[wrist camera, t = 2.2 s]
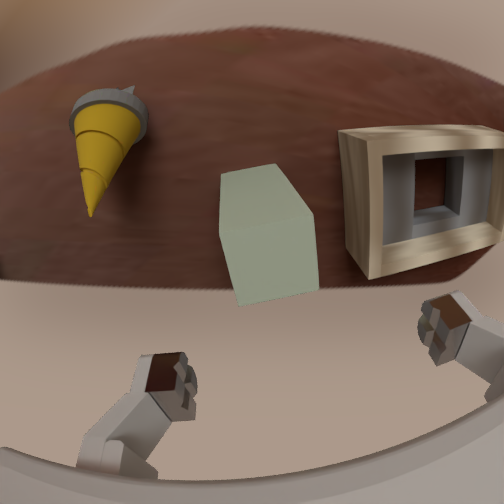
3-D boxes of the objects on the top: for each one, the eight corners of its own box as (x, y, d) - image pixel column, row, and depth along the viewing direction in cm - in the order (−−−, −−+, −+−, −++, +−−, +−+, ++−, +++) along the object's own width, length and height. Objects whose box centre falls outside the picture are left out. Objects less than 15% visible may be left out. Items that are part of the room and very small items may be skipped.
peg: (232, 223, 23) (238, 306, 14) (221, 174, 21) (219, 233, 12) (283, 213, 23) (319, 290, 14) (275, 163, 21) (313, 214, 12)
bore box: (345, 247, 25) (368, 280, 21) (337, 130, 20) (366, 140, 16) (475, 218, 25) (505, 240, 20) (482, 125, 20) (518, 137, 15)
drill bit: (169, 86, 18) (155, 216, 16) (123, 118, 21) (104, 236, 18) (113, 47, 13) (69, 186, 11) (71, 91, 16) (34, 217, 14)
